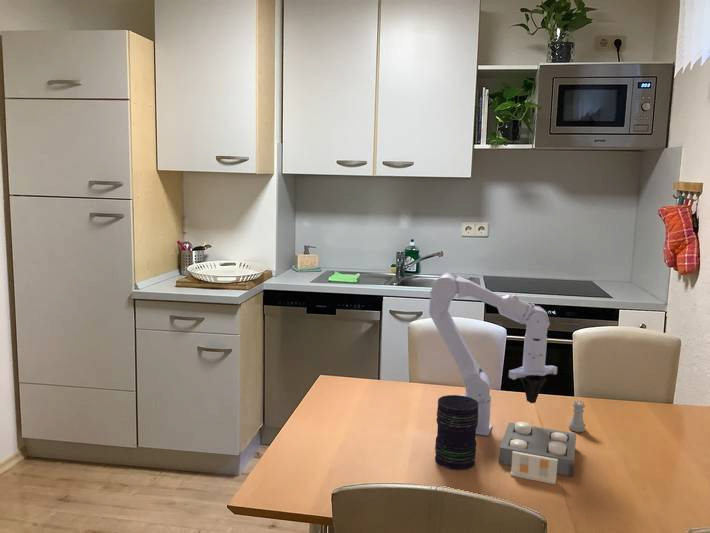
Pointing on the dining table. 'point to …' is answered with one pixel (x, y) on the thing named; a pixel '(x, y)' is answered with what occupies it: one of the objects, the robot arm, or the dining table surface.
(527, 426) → the button back left
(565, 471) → the button board
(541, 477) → the pattern card
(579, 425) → the rook chess piece
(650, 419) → the dining table surface
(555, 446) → the button front right
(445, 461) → the storage jar
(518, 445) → the button front left
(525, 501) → the dining table surface
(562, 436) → the button back right
